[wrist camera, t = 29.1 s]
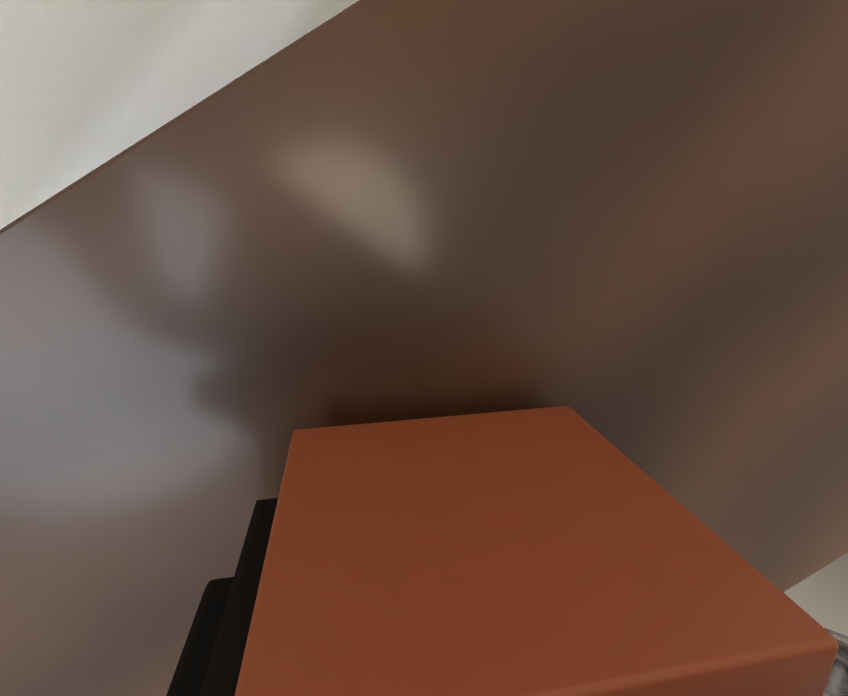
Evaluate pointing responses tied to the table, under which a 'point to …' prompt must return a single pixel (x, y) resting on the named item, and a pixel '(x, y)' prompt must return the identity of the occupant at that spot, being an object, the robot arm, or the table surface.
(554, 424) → the block
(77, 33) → the table surface
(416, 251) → the cupboard
